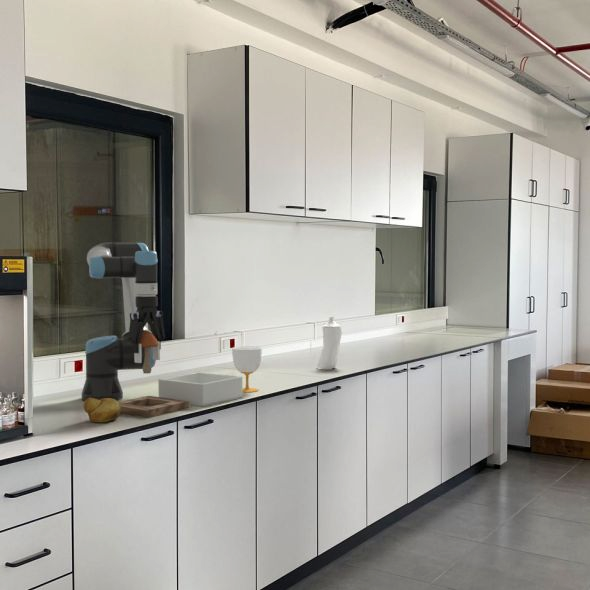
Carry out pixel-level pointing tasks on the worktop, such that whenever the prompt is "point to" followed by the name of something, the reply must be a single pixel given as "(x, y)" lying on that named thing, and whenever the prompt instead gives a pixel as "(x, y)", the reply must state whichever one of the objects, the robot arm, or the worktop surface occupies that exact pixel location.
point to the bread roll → (102, 409)
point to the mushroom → (147, 349)
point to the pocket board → (156, 403)
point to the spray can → (330, 345)
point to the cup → (247, 362)
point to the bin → (201, 388)
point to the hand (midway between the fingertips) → (147, 361)
